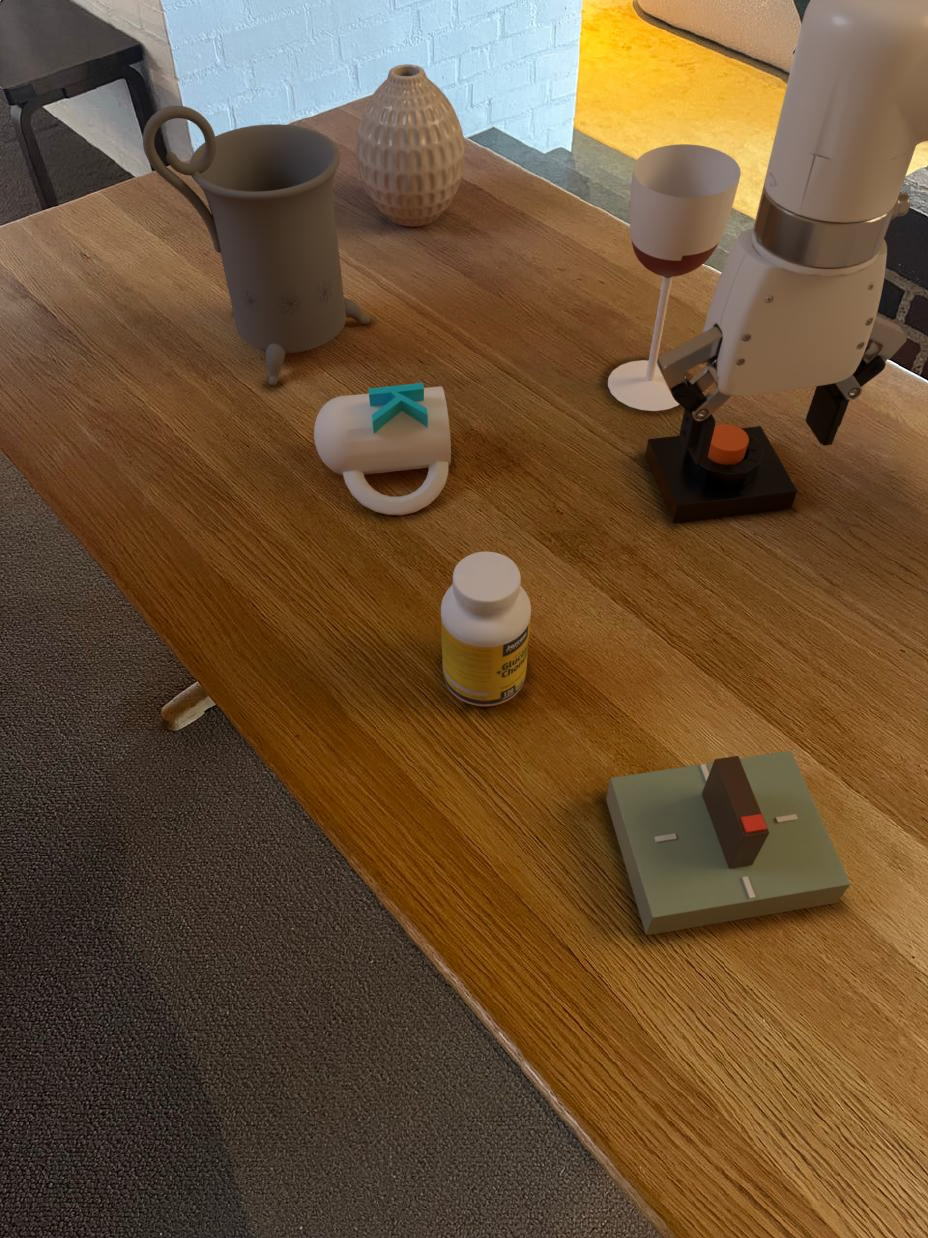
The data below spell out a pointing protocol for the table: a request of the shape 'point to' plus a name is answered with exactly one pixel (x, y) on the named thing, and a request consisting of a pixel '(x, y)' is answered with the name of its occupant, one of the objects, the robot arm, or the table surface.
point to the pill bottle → (485, 630)
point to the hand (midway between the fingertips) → (756, 442)
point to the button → (728, 444)
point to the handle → (734, 812)
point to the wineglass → (673, 242)
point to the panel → (693, 858)
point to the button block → (719, 480)
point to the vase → (410, 148)
